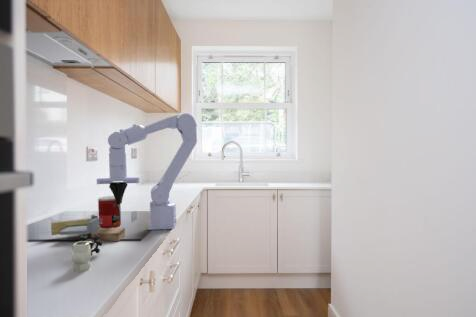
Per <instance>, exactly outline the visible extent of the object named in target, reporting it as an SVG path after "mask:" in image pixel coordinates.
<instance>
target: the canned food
mask: <svg viewBox="0 0 476 317" xmlns="http://www.w3.org/2000/svg"><path fill="white" fill-rule="evenodd" d="M97 200H98V202H97V204H98V205H97V207H98V218H99V225H100V228H111V227H114V228H118V227H120V226H121V223H122V219H121V218H122V212H121V209H122V208H121V204H116V200H115V197H114V195H111V196H110V195H107V196H102V197H98V199H97ZM117 226H118V227H117Z"/></svg>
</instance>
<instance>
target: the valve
mask: <svg viewBox="0 0 476 317" xmlns="http://www.w3.org/2000/svg"><path fill="white" fill-rule="evenodd" d="M99 237H100V236H99V235H96V236H95V237H92V233H88V234H87V237H85V236H84V235H81V236H80V237H79V238H78V240H79V241H77V242H74V243H73V244H72V251H73V252H72V254H71V255H72V256H71V261H72V263H73V272H78V273H82V272H86V271H89V270H90V268H91V259H92V257H93V252H94V253H95V254H99V253H100V251H101V250H100V248H99V247H102V246H103V245H104V242H102V241H100V242H98V239H99ZM87 239H93V240H94V242H90V241H89V242H88V241H86V240H87ZM94 245H95V247H94ZM92 248H93V249H92Z"/></svg>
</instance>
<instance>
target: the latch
mask: <svg viewBox="0 0 476 317" xmlns="http://www.w3.org/2000/svg"><path fill="white" fill-rule="evenodd" d="M94 218H99V214H92V215H90V217H89V218H78V219H69V220H60V221H58V220H57V221H52V222H50V228H51V229H50V230H51V232H50V233H51V236H56V235H57V236H58V235H60V231H62V230H64V229H66V228H68V227H69V226H87V222H89V221H91V220H92V219H94Z"/></svg>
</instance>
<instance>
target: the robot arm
mask: <svg viewBox="0 0 476 317" xmlns="http://www.w3.org/2000/svg"><path fill="white" fill-rule="evenodd" d="M197 127H198V126H197V123H196V120H195V118H194V117H193V115H192V114H191V113H181V114H180V115H179V114H177V115H172V116H169V117H166V118H164V119H161V120H158V121H156V122H153V123H150V124H148V125H145V126H143V125H142V124H136V123H135V124H132V127H131V126H130V127H129V128H125V129H119V131H114V132H113V133H111V134H110V135H109V136H108V138H107V143H108V145H109V149H108V151H109V152H108V164H109V168H108V169H109V177H103V178H100V177H99V178H96V185H109V186H108V188H109V189H110V191H111V192H112V196H114V197H115V200H116V204H120V205H122V203H123V198H124V194H125V191H126V190H127V187H128V184H140V177H128V176H127V170H128V169H127V153H126V145H128V146H130V145H133V144H136V143H138V142H142V141H144V140H146V139H147V137H148V135H149V134H154V133H156V132H159V131H162V130H166V129H171V130H175V129H176V130H177V131H178V132H179V133H180V135H181V139H182V142H181V144H180V146H179V147H178V150H177V151H176V153H175V155H174V156H173V158H172V160H171V162H170V164H169V165H168V167H167V168H166V170H165V172H164V173H163V175H162V177H161V178H160V180H159V181H158V182H157V184H155V185H154V186H153V187H152V188H151V191H150V195H151V196H150V199H151V201H150V203H149V216H150V217H149V220H150V222H149V223H150V224H149V226H148V227H147V230H148V231H149V230H151V231H152V230H174V229H175V227H176V226H177V206H176V203H173V202H170V200H169V198H170V192H171V190H172V187H173V185H174V183H175V181H176V179H177V177H178V176H179V174H180V173H181V171H182V169H183V167H184V166H185V163H186V161H187V160H188V159H189V157H190V155H191V153H192V152H193V150H194V148H195V147H196V145H197V142H198V140H197V138H198V137H197Z"/></svg>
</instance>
